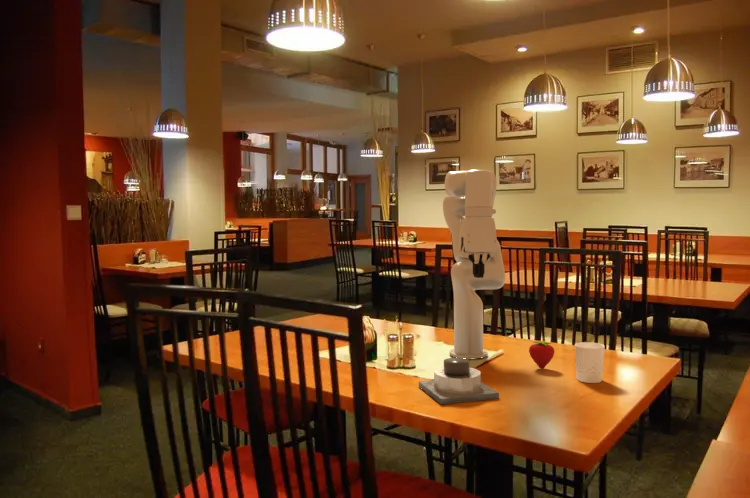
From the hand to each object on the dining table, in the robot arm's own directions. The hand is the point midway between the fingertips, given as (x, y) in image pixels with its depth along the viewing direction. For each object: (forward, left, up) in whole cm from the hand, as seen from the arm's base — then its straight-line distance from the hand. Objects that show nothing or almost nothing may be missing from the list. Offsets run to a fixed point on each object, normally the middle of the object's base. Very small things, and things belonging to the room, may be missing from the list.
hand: (478, 277), depth 171 cm
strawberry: (-2, +22, -29) cm, 37 cm away
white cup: (+13, +28, -29) cm, 43 cm away
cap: (+12, -12, -28) cm, 32 cm away
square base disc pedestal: (+12, -12, -29) cm, 34 cm away
